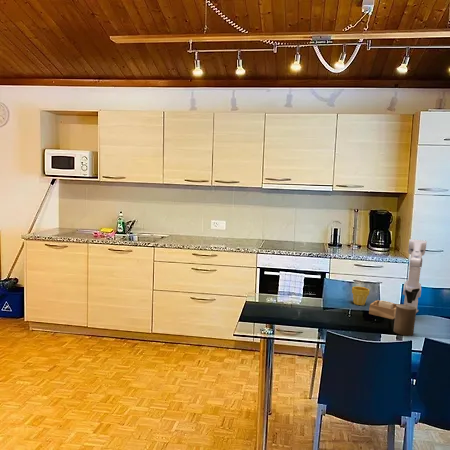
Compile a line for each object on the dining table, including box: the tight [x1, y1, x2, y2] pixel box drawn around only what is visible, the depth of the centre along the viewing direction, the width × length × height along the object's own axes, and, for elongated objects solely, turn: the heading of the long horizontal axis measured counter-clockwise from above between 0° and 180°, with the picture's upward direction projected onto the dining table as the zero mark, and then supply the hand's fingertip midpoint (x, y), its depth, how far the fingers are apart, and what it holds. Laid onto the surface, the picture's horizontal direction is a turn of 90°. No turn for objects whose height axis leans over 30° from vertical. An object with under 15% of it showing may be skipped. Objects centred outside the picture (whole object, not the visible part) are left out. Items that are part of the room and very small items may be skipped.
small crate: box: [379, 299, 395, 309], centre depth 269 cm, size 5×7×6 cm
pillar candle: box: [393, 303, 417, 337], centre depth 238 cm, size 10×10×15 cm
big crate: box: [368, 299, 398, 320], centre depth 270 cm, size 14×14×6 cm
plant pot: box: [351, 285, 370, 306], centre depth 288 cm, size 10×10×10 cm
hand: (411, 301), depth 265 cm, fingers open, 7 cm apart
